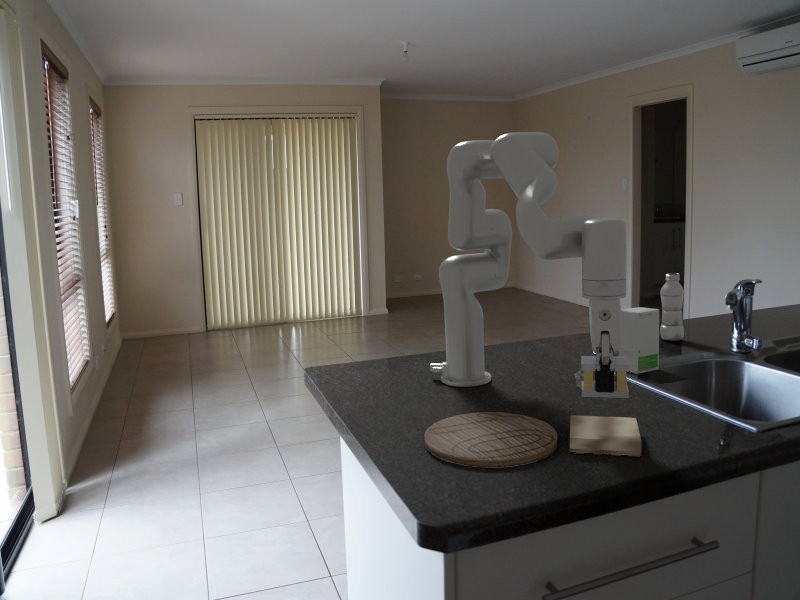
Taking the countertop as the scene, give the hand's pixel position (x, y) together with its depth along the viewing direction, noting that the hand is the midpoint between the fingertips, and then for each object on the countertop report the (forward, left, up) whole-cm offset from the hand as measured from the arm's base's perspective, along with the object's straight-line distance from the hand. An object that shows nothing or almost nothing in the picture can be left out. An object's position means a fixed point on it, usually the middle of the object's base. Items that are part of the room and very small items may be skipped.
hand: (604, 385), depth 120 cm
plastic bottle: (+22, +85, -11) cm, 89 cm away
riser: (0, 0, -11) cm, 11 cm away
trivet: (-21, -2, -12) cm, 24 cm away
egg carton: (-1, +38, -11) cm, 40 cm away
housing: (0, 0, -1) cm, 1 cm away
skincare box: (+10, +52, -11) cm, 54 cm away
